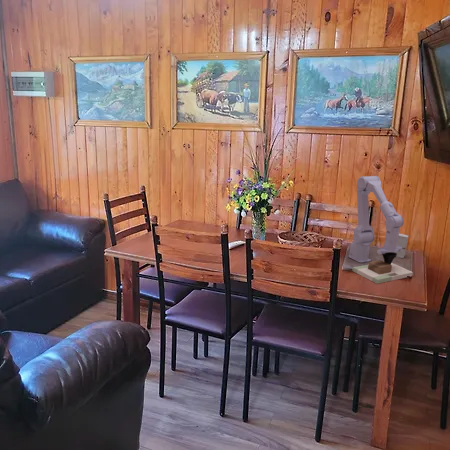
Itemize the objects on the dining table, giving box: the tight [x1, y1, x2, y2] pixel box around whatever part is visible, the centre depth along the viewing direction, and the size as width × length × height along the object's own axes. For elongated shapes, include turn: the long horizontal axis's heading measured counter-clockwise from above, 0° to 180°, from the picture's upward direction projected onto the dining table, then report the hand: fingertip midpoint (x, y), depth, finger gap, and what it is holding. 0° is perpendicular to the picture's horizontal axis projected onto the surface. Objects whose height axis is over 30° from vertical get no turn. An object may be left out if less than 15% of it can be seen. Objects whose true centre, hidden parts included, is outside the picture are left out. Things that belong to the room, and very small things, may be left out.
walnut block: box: [367, 259, 392, 275], centre depth 212 cm, size 8×8×4 cm
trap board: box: [352, 262, 414, 285], centre depth 214 cm, size 16×24×2 cm
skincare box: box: [395, 233, 410, 259], centre depth 237 cm, size 6×4×12 cm
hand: (387, 266), depth 215 cm, fingers closed
